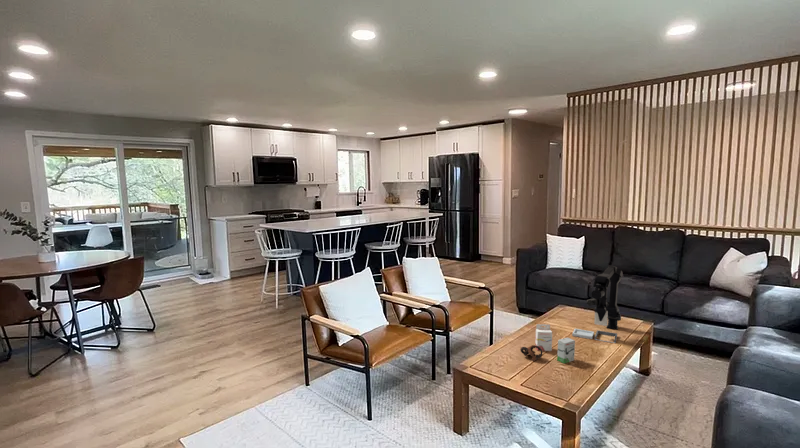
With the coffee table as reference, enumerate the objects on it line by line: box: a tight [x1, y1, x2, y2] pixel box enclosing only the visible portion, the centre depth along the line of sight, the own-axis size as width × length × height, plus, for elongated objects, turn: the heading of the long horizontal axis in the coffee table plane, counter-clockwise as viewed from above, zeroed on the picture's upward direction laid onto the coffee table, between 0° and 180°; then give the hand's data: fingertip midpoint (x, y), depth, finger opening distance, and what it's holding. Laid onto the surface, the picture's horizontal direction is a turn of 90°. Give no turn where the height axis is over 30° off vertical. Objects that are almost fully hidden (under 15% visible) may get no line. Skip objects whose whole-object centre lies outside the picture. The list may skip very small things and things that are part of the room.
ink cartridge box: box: [534, 323, 553, 352], centre depth 240 cm, size 9×5×15 cm, turn 84°
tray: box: [571, 328, 595, 340], centre depth 260 cm, size 10×12×2 cm
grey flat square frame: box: [594, 329, 618, 344], centre depth 255 cm, size 12×12×2 cm
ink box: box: [556, 337, 576, 364], centre depth 225 cm, size 9×5×12 cm, turn 117°
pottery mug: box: [520, 344, 543, 362], centre depth 229 cm, size 12×10×8 cm
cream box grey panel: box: [593, 311, 608, 327], centre depth 254 cm, size 5×7×9 cm
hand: (601, 319), depth 254 cm, fingers closed on cream box grey panel, 5 cm apart
